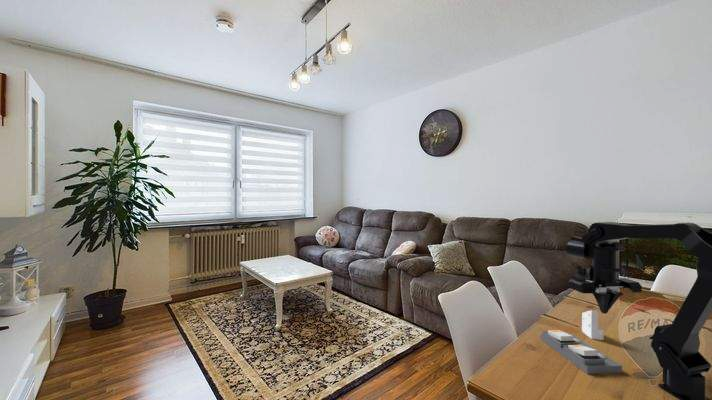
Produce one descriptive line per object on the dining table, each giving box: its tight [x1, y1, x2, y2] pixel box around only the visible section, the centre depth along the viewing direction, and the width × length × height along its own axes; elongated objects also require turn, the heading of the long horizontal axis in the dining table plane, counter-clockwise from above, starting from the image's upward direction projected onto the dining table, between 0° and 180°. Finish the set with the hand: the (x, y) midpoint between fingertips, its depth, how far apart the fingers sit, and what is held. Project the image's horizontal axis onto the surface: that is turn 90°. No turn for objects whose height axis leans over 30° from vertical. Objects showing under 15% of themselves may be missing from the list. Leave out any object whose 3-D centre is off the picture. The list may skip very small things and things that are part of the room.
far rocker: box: [547, 329, 574, 341], centre depth 95 cm, size 6×4×2 cm, turn 2°
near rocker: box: [568, 345, 598, 356], centre depth 86 cm, size 6×4×2 cm, turn 2°
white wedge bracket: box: [581, 309, 605, 341], centre depth 102 cm, size 4×10×9 cm, turn 168°
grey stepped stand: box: [540, 330, 623, 375], centre depth 90 cm, size 19×10×3 cm, turn 2°
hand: (603, 313), depth 90 cm, fingers closed
